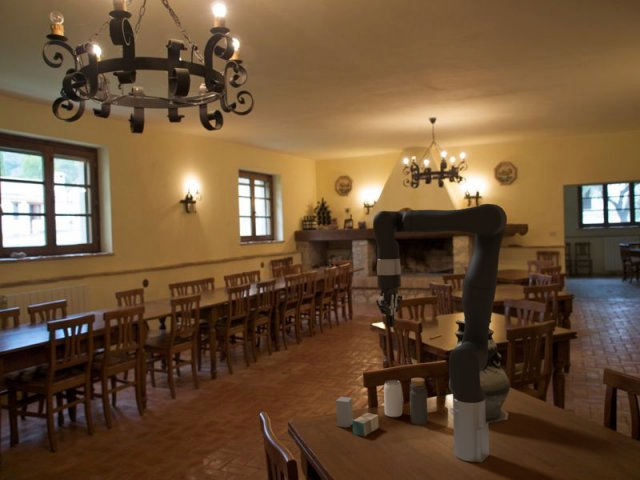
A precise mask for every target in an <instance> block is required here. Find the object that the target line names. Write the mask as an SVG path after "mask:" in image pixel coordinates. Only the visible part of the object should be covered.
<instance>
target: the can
mask: <svg viewBox="0 0 640 480" xmlns="http://www.w3.org/2000/svg"><path fill="white" fill-rule="evenodd" d="M383 397H384V400H383V401H384V402H383V403H384V404H383V405H384V415H385V416H387V417H390V418H400V417H401V416H402V415H403V393H402V384H401V381H399V380H397V379H389V380H385V381H384V385H383Z"/></svg>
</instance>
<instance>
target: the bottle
mask: <svg viewBox="0 0 640 480" xmlns="http://www.w3.org/2000/svg"><path fill="white" fill-rule="evenodd" d="M410 379H411V383H410V388H411V389H410V391H409V404H410V405H409V409H410V411H409V413H410V423H412V424H413V425H422V426H423V425H425V424H427V423H428V398H427V397H428V396H427V395H428V392H427V391H426V390H425V389H426V383H425V378H423V377H413V378H410Z"/></svg>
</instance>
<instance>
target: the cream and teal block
mask: <svg viewBox="0 0 640 480" xmlns="http://www.w3.org/2000/svg"><path fill="white" fill-rule="evenodd" d="M377 429H379V415H378V414H374V413H370V412H366V413H364V414H362V415H361V416H359V417H356V418H355V419H353V424H352V434H353V435H355V436H356V435H357V436H360V437H364V438H365V437H366V436H367V435H369V434H370V433H372V432H374V431H376V430H377Z"/></svg>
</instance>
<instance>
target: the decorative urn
mask: <svg viewBox="0 0 640 480" xmlns="http://www.w3.org/2000/svg"><path fill="white" fill-rule="evenodd" d="M491 323H492V320H491V321H490V324H491ZM455 324H456V325H458V328H457V330H455V331H454V335H455V336H456V338H457V342H456V343H455V346H454V349H455V348H456V347H458V346H460V345H461V343H462V339H463V335H464V329H465V318H463V321H462V320H459V319H458V320H455ZM494 333H495V331H494V330H492V329H491V328H489V334H488V359H487V364H486V366H485V367H484V369H483V370H481V371H480V385H481V387H482V388H483V389H484V391H485V415H486V423H488V424H492V423H497V422H500V421H505V420H508V416H509V413H508V412H506V411H504V409H502V408H503V405H504V403H505V401H506V399H507V397H508V394H509V393H510V389H511V384H510V380H509V377H508V376H507V374H506V372H505V371H504V370H503V369H502V368H501V361H502V359H503V357H502V355H501V354H500V353H499V352H498V345H497V343H496V342H495V340H494V338H493V335H494ZM448 381H449V382H448V388H449V390H450V392H451V394H452V395H453V392H452V389H451V386H450V378H449V379H448ZM448 412H449V413H451V414H453V407H452V408H451V407H450V409H449V411H448Z"/></svg>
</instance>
